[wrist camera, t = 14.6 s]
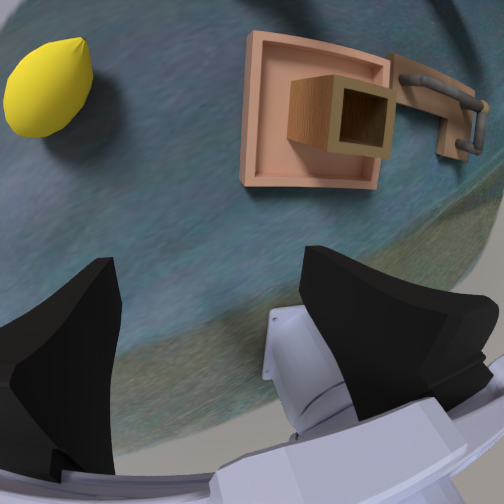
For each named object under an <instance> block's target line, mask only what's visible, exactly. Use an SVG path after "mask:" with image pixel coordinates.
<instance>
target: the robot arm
mask: <svg viewBox="0 0 504 504" xmlns="http://www.w3.org/2000/svg"><path fill="white" fill-rule="evenodd" d="M299 292H300V295H301V298H302V300H303V303H304V305H299V306H290V307H282V308H274V309H272V310H271V311H270V313H269V320H268V328H267V337H266V345H265V354H264V362H263V370H262V378H263V380H270V379H272V380H273V383H274V385H275V388H276V390H277V393H278V396H279V398H280V401H281V403H282V406H283V409H284V411H285V414H286V417H287V419H288V421H289V423H290V424H291V425H292V426H293V427H294V428H295V429H296V431H297V432H296V433H294V434H292V435H291V436H290V439H289V442H286V443H282V444H278V445H275V446H272V447H269V448H265V449H261V450H258V451H254V452H251V453H247V454H244V455H243V456H241V457H238V458H236V459H234V460H232V461H230V462H228V463H226V464H224V465H222V466H221V467H220V468H219V469H218V470H217V471H216V472H213V473H204V474H193V475H176V476H118V475H115V469H114V462H113V453H112V442H111V428H110V384H111V375H112V369H113V363H114V357H115V352H116V347H117V342H118V336H119V331H120V326H121V313H122V301H121V296H120V292H119V287H118V282H117V277H116V271H115V266H114V260H113V257H107V258H97V259H95V260H94V261H92V262H91V263H90V264H89V265H87V266H86V267H85V268H84V269H83V270H82V271H80V272H79V273H78V274H77V275H76V276H75V277H73V278H72V279H71V280H70V281H69V282H68V283H66V284H65V285H64V286H63V287H61V288H60V289H59V290H58V291H56V292H55V293H54V294H53V295H52V296H50V297H49V298H48V299H46V300H45V301H44V302H42V303H41V304H39V305H38V306H36V307H35V308H33V309H32V310H30V311H29V312H27V313H26V314H24V315H22V316H20V317H19V318H17V319H15V320H13V321H12V322H10V323H8V324H6V325H5V326H3V327H0V504H466V503H465V501H464V500H463V498H462V496H461V495H460V493H459V491H458V490H457V488H456V486H455V485H454V483H453V482H452V480H451V478H452V477H453V476H455V475H456V474H457V473H459V472H460V471H461V470H463V469H464V468H465V467H467V466H468V465H469V464H470V463H471V462H473V461H474V460H475V459H477V458H478V457H479V456H480V455H482V454H483V453H484V452H485V451H486V450H487V449H489V448H490V447H491V446H492V445H493V444H494V443H495V442H496V441H498V440H499V439H500V438H501V437H502V436H503V435H504V354H503V355H502V356H500V357H499V358H497V359H496V360H495V361H493V362H492V363H491V364H490V365H489V366H488V367H486V366H485V364H484V363H483V361H484V360H485V359H486V356H485V355H484V354H483V352H482V351H481V350H482V349H483V347H484V345H485V344H486V342H487V340H488V338H489V336H490V335H491V333H492V331H493V329H494V327H495V325H496V323H497V320H498V316H499V307H498V305H497V304H496V303H495V302H494V301H492V300H491V299H490V298H489V297H486V296H483V295H470V294H460V293H453V292H447V291H441V290H437V289H432V288H428V287H424V286H420V285H416V284H413V283H410V282H407V281H404V280H401V279H398V278H395V277H392V276H390V275H387V274H384V273H382V272H380V271H377V270H375V269H373V268H370V267H368V266H366V265H364V264H362V263H360V262H357V261H355V260H353V259H351V258H349V257H347V256H345V255H343V254H341V253H338V252H336V251H334V250H332V249H329V248H327V247H324V246H320V245H318V246H306V247H305V253H304V260H303V267H302V273H301V280H300V286H299ZM275 317H276V318H275ZM273 318H275V319H273Z"/></svg>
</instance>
